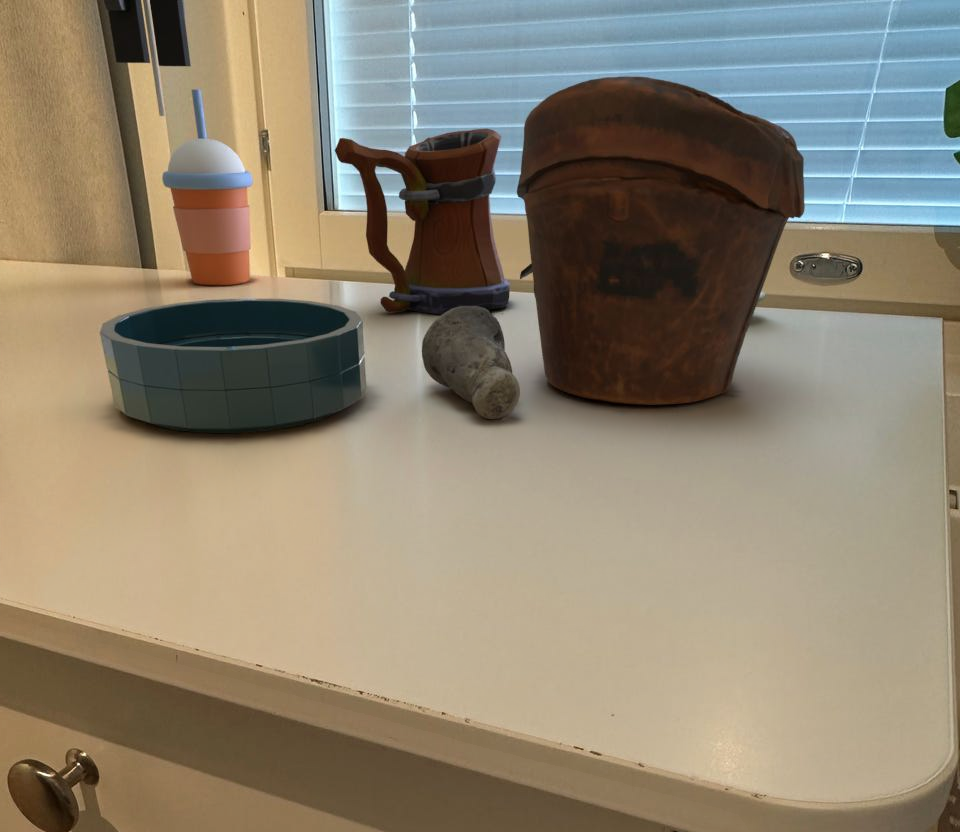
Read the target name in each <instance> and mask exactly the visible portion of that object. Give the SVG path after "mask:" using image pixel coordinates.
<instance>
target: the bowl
mask: <svg viewBox="0 0 960 832" xmlns="http://www.w3.org/2000/svg"><path fill="white" fill-rule="evenodd" d="M363 321H364V320H363V318H362V317H361V316H360V315H359V314H358V313H357V312H356V311H355V310H352V309H349V308H346V307H343V306H340V305H337V304H331V303H325V302H318V301H313V300H302V299H290V298H289V299H287V298H253V297H252V298H251V297H250V298H249V297H248V298H247V297H246V298H224V299H223V298H222V299H205V300H196V301H185V302H184V301H183V302H176V303H169V304H163V305H157V306H152V307H151V306H150V307H146V308H141V309H138V310H133V311H129V312H126V313H123V314H118V315H116V316H115V317H113V318H111V319H109V320H107V321H105V322H103V323H102V324H101V327H100V330H99V336H100V341H101V345H102V350H103V351H102V352H103V356H104V360H105V366H106V369H107V375H108V380H109V384H110V390H111V395H112V399H113V404H114V407H116V408H117V409H118V410H119V411H121V412H122V413H123V414H124V415H125V416H127V417H129V418H133V419H136V420H140V421H141V422H142V421H143V422H146V423H149V424H150V425H154V426H156V427H157V426H158V427H161V428H163V429H169V430H175V431H181V432H189V433H202V434H245V433H259V432H266V431H274V430H282V429H287V428H293V427H298V426H302V425H306V424H311V423H313V422H317V421H320V420H323V419H325V418H327V417H330V416H332V415H334V414H336V413H338V412H340V411H342V410H345V409H346V408H348V407H350V406H352V405H353V404H355V403H357V402H358V401H360V400H362V398H363V396H364V394H365V392H366V390H367V375H366V357H365V356H366V355H365V341H364V340H365V339H364V338H365V337H364V322H363Z"/></svg>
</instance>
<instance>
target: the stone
mask: <svg viewBox="0 0 960 832" xmlns="http://www.w3.org/2000/svg"><path fill="white" fill-rule="evenodd" d="M505 350H506V344H505V336H504V331H503V329H502V326H501V324H500V322H499V321H498V318H496V317H495V316H494V315H493V314H492V313H491V311H490V310H487V309H485V308H482V307H478V306H460V307H456V308H453V309H450V310H449V311H447V312H445V313H444V314H440V315H439V316H438V317H437V318H436V319H434V321H433V322H432V323H431V325H430V326H429V328H428V329H427V331H426V333H425V335H424V337H423V338H422V343H421V357H422V362H423V366H424V368H425V371H426V373H427V374H428V376H429V377H430V378H431V379H432V380H433V381H435V382H436V383H437V384H439V385H442V386H444V387H446V388H449V389H451V390H452V392H454V393H455V394H456V395H457V396H458V397H460V398H462V399H463V400H465V401H467V402H469V403H471V404H472V406H473V407H474V409H475V411H476V412H477V414H478V415H479V416H480V417H482V418H484V419H488V420H497V419H498V420H499V419H503V418H505V417H507V416H508V415H509V414H510V413H511V412H513V410H514V408H516V406H517V405H518V403H519V399H520V395H521V388H520V385H519V382H518V380H517V378H516V376H515V375H514V374H513V367H512V364H511V361H510V359H509V357H508V354H507V352H506V351H505Z"/></svg>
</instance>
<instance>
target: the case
mask: <svg viewBox="0 0 960 832" xmlns="http://www.w3.org/2000/svg"><path fill="white" fill-rule="evenodd" d="M804 161H805V160H804V156H803V154H802V153H801V152H800V151H799V150H798V146H797V142H796V140H795V138H794V135H792V134H791V132H789V131H788V130H786V129H785V128H783V127H782V126H781V125H778V124H776V123H774V122H771V121H770V120H767V119H764V118H763V117H759V116H758V115H757V116H756V115H753V114H749V113H746V112H743V111H741V110H739V109H736V108H735V107H734V106H733V105H731V104H730V103H729V102H726V101H724V100H722V99H720V98H719V97H717V96H715V95H713V94H709V93H708V92H707V91H703V90H699V89H696V88H695V87H692V86H689V85H686V84H682V83H678V82H674V81H670V80H664V79H660V78H659V79H658V78H655V77H654V78H653V77H649V76H627V75H626V76H608V77H606V76H605V77H600V78H594V79H588V80H584V81H581V82H578V83H575V84H573V85H570V86H567V87H564V88H563V89H560V90H558V91H556V92H554V93H552V94H550V95H549V96H547V97H546V98H544V99H543V100H542V101H540V103H538V104H537V105H536V106H535V107H534V108H533V109H532V110H531V111H530V112H529V114H528V115H527V117H526V118H525V121H524V127H523V145H522V152H521V161H520V163H521V164H520V174H519V177H518V184H517V187H516V195H517V197H518V198H520V199H522V200H523V202H524V210H525V215H526V222H527V231H528V232H527V233H528V243H529V253H530V254H529V255H530V262H531V263H530V264H528V265H527V266H526V267H525V268H524V269H522V270H521V271H520V274H519V280H522V279H523V278H525V277H527V276H529V275H530V274H532V280H533V294H534V299H535V304H536V313H537V315H536V316H537V321H538V331H539V339H540V347H541V355H542V362H543V368H544V370H543V371H544V375H545V378H546V380H547V382H548V383H549V384H550V385H551V386H552V387H554V388H556V389H558V390H559V391H562V392H565V393H566V394H570V395H573V396H575V397H580V398H584V399H587V400H588V399H589V400H594V401H602V402H610V403H617V404H627V405H646V406H647V405H648V406H649V405H653V406H654V405H655V406H656V405H679V404H688V403H694V402H700V401H704V400H707V399H710V398H713V397H715V396H718V395H721V394H723V393H726V392H727V391H728V390H729V389H730V388H731V386H732V384H733V378H734V375H735V374H734V373H735V369H736V365H737V363H738V359H739V356H740V353H741V350H742V347H743V344H744V341H745V339H746V334H747V332H748V330H749V327H750V325H751V322H752V318H753V316H754V313H755V311H756V308H757V306H758V305H757V302H758V299H759V296H760V293H761V291H763V288H764V285H765V282H766V280H767V277H768V273H769V272H770V268H771V265H772V263H773V259H774V256H775V254H776V252H777V248H778V245H779V242H780V240H781V238H782V234H783V232H784V229H785V227H786V225H787V222H788V220H789V218H790V219H794V218H798V219H800V218H802V216H803V215H804V213H805V206H806V205H805V204H806V203H805V178H804V170H805V169H804V165H805V163H804ZM756 305H757V306H756Z"/></svg>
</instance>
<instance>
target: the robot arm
mask: <svg viewBox="0 0 960 832" xmlns="http://www.w3.org/2000/svg"><path fill="white" fill-rule="evenodd" d="M103 3H104V6H105V9H106V11H107V13H108V19H109V25H110V32H111V38H112V44H113V50H114V56H115V62H116V63H118V64H151V56H150V50H149V43H148V39H147V38H148V36H147V29H146V22H145V15H144V8H143V2H142V0H103ZM149 6H150V13H151V20H152V27H153V34H154V41H155V48H156V55H157V62H158V67H191V57H190V52H189V51H190V50H189V44H188V43H189V40H188V33H187V26H186V10H185V0H149Z"/></svg>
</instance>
